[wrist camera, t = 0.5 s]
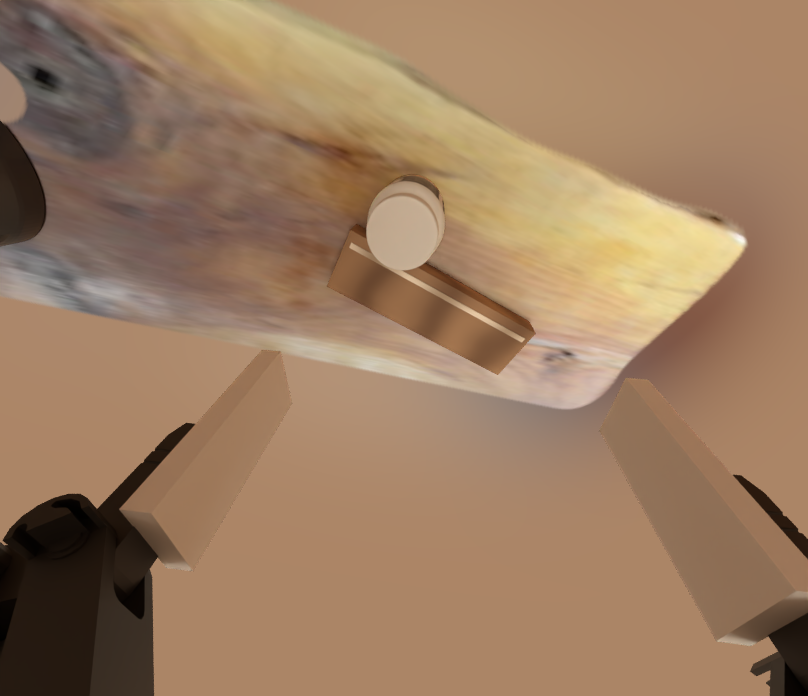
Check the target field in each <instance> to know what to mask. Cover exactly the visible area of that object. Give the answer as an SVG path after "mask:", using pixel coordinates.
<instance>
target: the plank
mask: <svg viewBox="0 0 808 696" xmlns="http://www.w3.org/2000/svg"><path fill="white" fill-rule="evenodd" d="M327 287H329V288H331V289H333V290H335V291H337V292H339V293H341V294H343V295H344V296H346V297H348V298H350V299H352V300H354V301H356V302H358V303H360V304H362V305H364V306H366V307H368V308H370V309H372V310H373V311H375V312H377V313H379V314H381V315H383V316H385V317H387V318H389V319H391V320H393V321H395V322H397V323H399V324H400V325H402V326H404V327H406V328H408V329H410V330H412V331H414V332H416V333H418V334H420V335H422V336H424V337H426V338H427V339H429V340H431V341H433V342H435V343H437V344H439V345H441V346H443V347H445V348H447V349H449V350H451V351H453V352H454V353H456V354H458V355H460V356H462V357H464V358H466V359H468V360H470V361H472V362H474V363H476V364H478V365H480V366H481V367H483V368H485V369H487V370H489V371H491V372H493V373H495V374H497V375H498V374H499V373H500V372H501V371H502V370H503V369H504V368H505V366H506V365H507V364H508V363H509V362H510V361H511V360H512V359H513V358H514V357H515V355H516V354H517V353H518V352H519V351H520V350H521V349H522V348H523V347H524V346H525V345H526V343H527V342H528V341H529V340H530V339H531V338H532V337H533V336H534V335H535V334H536V333H535V332H534V330H533V328H532V326H531V324H530V322H529V321H527V320H526V319H524V318H522V317H520V316H518V315H517V314H515V313H513V312H511V311H510V310H508V309H506V308H504V307H503V306H501V305H499V304H497V303H496V302H494V301H492V300H490V299H488V298H487V297H485V296H483V295H481V294H480V293H478V292H476V291H474V290H473V289H471V288H469V287H467V286H466V285H464V284H462V283H460V282H458V281H457V280H455V279H453V278H451V277H450V276H448V275H446V274H444V273H443V272H441V271H439V270H437V269H435V268H434V267H432V266H430V265H428V264H427V263H424V264H422V265H421V266H419V267H417V268H414V269H411V270H395V269H392V268H389V267H387V266H385V265H384V264H382V263H381V262H380V261H378V260H377V259H376V257H375V256H374V255H373V253H372V252H371V250H370V248H369V245H368V242H367V237H366V229H365V228H363V227H361V226H360V225H358V224H356V225H355V226H354V227H353V228H352V229H351V230H350V232H349V235H348V237H347V239H346V242H345V244H344V247H343V249H342V251H341V254H340V256H339V259H338V261H337V263H336V266H335V268H334V271H333V273H332V275H331V278H330V280H329V283H328V285H327Z"/></svg>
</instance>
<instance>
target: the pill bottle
mask: <svg viewBox="0 0 808 696" xmlns="http://www.w3.org/2000/svg"><path fill="white" fill-rule="evenodd" d="M444 231H445V213H444V203H443V199H442V196H441V194H440V192H439V190H438V189H437V187H436V186H435V185H434V184H433V183H432V182H431V181H430V180H428V179H427V178H425V177H423V176H419V175H405V176H402V177H399V178H397V179H396V180H394V181H393V182H392V183H390V184H389V185H388V186H386V187H385V188H384V189H383V190H381V191H380V192H379V193H378V194H377V196H376V197H375V198H374V200H373V202H372V204H371V206H370V209H369V212H368V218H367V227H366V237H367V242H368V245H369V248H370V250H371V252H372V253H373V255H374V256H375V257H376V259H377V260H378V261H380V262H381V263H382V264H384V265H385V266H387V267H389V268H392V269H395V270H411V269H414V268H417V267H419V266H421V265H422V264H424V263H425V262H426V261H427V260H428V259H429V258H430V257H431V255H432V254H433V253H434V252H435V250H436V249H437V248H438V246H439V244H440V242H441V240H442V238H443V235H444Z"/></svg>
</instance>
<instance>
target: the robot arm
mask: <svg viewBox="0 0 808 696" xmlns="http://www.w3.org/2000/svg"><path fill="white" fill-rule="evenodd" d="M44 212H45V208H44V199H43V194H42V190H41V187H40V184H39V181H38V179H37V176H36V174H35V172H34V170H33V168H32V166H31V164H30V162H29V160H28V158H27V157H26V155H25V153H24V152H23V150H22V149H21V147H20V145H19V144H18V143H17V141H16V140H15V138H14V137H13V136H12V134H11V133H10V132H9V131H8V129H7V128H6V127H5V126H4V124H3V123H2V122H1V121H0V246H5V245H9V244H14V243H18V242H23V241H26V240H29V239H31V238H32V237H34V236H35V235H36V234H37V233H38V232H39V230H40V228H41V226H42V224H43V220H44ZM291 404H292V400H291V396H290V391H289V387H288V383H287V378H286V374H285V369H284V365H283V360H282V356H281V351H269V350H262V351H261V352H260V353H259V354H258V355H257V356H256V357H255V359H254V360H253V361H252V362H251V363H250V364H249V365H248V366H247V367H246V368H245V370H244V371H243V372H242V373H241V374H240V375H239V376H238V377H237V378H236V380H235V381H234V382H233V383H232V384H231V385H230V386H229V387H228V389H227V390H226V391H225V392H224V393H223V394H222V395H221V397H219V399H218V400H217V401H216V402H215V403H214V404H213V405H212V406H211V408H210V409H209V410H208V411H207V412H206V413H205V414H204V415H203V416H202V418H201V419H200V420H199V421H198V422H197V423H196V424H192V423H185V424H184V425H182V426H181V427H179V428H178V429H176V430H175V431H173V432H172V433H170V434H169V435H168V436H167V437H166V438H165V439H164V440H163V441H162V442H161V443H160V444H159V445H158V446H157V447H156V448H155V451H152V452H151V453H150V454H149V456H148V457H147V458H146V459H145V460H144V463H141V464H140V465H139V466H138V467H137V468H136V469H135V470H134V471H133V472H132V473H131V474H130V475H129V476H128V477H127V479H125V480H124V482H123V483H122V484H121V485H120V486H119V487H118V488H117V489H116V490H115V491H114V492H113V493H112V494H111V495H110V496H109V497H108V498H107V499H106V500H105V501H104V502H103V503H102V504H101V506H100V507H99V508H98V509H96V507H95V506H94V505H93V504H92V503H91V502H90V501H89V499H88V498H86V497H85V496H83V495H81V494H66V495H63V496H59V497H55V498H53V499H51V500H48V501H46V502H44V503H42V504H40V505H38V506H36V507H35V508H34V509H32V510H31V511H29V512H28V513H26V514H25V515H23V516H22V517H21V518H20V519H19V520H18V521H17V522H16V523H15V524H14V525H13V526H12V527H11V528H10V529H9V531H8V532H7V534H6V536H5V537H4V539H3V541H4V542H5V543H6V544H8V545H3V544H2V543H0V696H154V674H153V673H154V667H153V609H152V608H153V604H152V603H153V601H152V575H151V572H150V568H151V566H152V565H153V563H154V562H155V560H156V559H157V557H158V558H159V559H160V561H161V562H162V563H163V564H164V566H165V567H166V568H172V569H180V570H187V571H194V569H195V567H196V565H197V564H198V562H199V560H200V559H201V557H202V555H203V554H204V552H205V550H206V549H207V547H208V545H209V543H210V542H211V540H212V538H213V537H214V535H215V533H216V532H217V530H218V528H219V527H220V525H221V523H222V521H223V520H224V518H225V516H226V515H227V513H228V511H229V510H230V508H231V506H232V504H233V502H234V501H235V499H236V497H237V496H238V494H239V493H240V491H241V489H242V488H243V486H244V484H245V482H246V481H247V479H248V477H249V476H250V474H251V472H252V471H253V469H254V467H255V465H256V464H257V462H258V460H259V459H260V457H261V455H262V454H263V452H264V450H265V448H266V447H267V445H268V443H269V442H270V440H271V438H272V437H273V435H274V433H275V431H276V430H277V428H278V427H279V425H280V423H281V421H282V420H283V418H284V416H285V415H286V413H287V411H288V410H289V408H290V406H291ZM600 433H601V435H602V437H603V438H604V440H605V442H606V444H607V446H608V447H609V449H610V451H611V453H612V454H613V456H614V458H615V460H616V462H617V464H618V465H619V467H620V469H621V471H622V473H623V474H624V476H625V478H626V480H627V482H628V483H629V485H630V487H631V489H632V490H633V492H634V494H635V496H636V498H637V500H638V501H639V503H640V505H641V506H642V509H643V510H644V512H645V514H646V516H647V517H648V519H649V521H650V523H651V525H652V526H653V528H654V530H655V532H656V534H657V535H658V537H659V539H660V541H661V542H662V544H663V546H664V548H665V550H666V551H667V553H668V555H669V557H670V559H671V560H672V562H673V564H674V566H675V568H676V570H677V571H678V573H679V575H680V577H681V579H682V580H683V582H684V584H685V586H686V587H687V589H688V591H689V593H690V595H691V596H692V598H693V600H694V602H695V604H696V606H697V607H698V609H699V611H700V613H701V615H702V616H703V618H704V620H705V622H706V623H707V625H708V627H709V629H710V631H711V633H712V634H713V636H714V638H715V640H716V641H719V642H726V643H734V644H741V645H749V646H752V645H754V644H755V643H757V642H759V641H761V640H763V639H764V638H766V637H768V636H769V638H770V639H771V641H772V642H773V644H774V645H775V647H776V648H777V650H778V652H776V653H774V654H772V655H770V656H768V657H767V658H765V659H763V660H761V661H759V662H757V663H755V664H753V666H752V668H751V671H750V672H752V673H753V674H754V675H756V676H758V675H760V674H762V673H765V672H767V671H769V670H771V675H770V680H769V681H768V682H766V684H768V685H769V686H770V696H808V539H807V538H806V537H805V536H804V535H803V534H802V533H799V532H798V528H797V527H796V526H795V525H794V524H793V523H792V522H791V521H790V520H789V519H788V518H787V517H786V516H783V514H782V511H781V510H780V509H779V508H778V507H777V506H776V505H775V504H774V503H773V502H772V501H771V499H770V498H769V497H767V495H766V494H765V493H764V492H763V491H761V490H760V489H758V488H757V487H756V486H754V485H753V484H752V483H750V482H749V481H747V480H746V479H745V478H744V477H742V476H740V475H732V474H731V473H730V472H729V471H728V469H727V468H726V467H725V466H724V465H723V464H722V462H721V461H720V460H719V459H718V458H717V457H716V456H715V455H714V453H713V452H712V451H711V450H710V449H709V448H708V447H707V446H706V444H705V443H704V442H703V441H702V440H701V439H700V438H699V437H698V436H697V434H695V432H694V431H693V430H692V429H691V428H690V427H689V425H688V424H687V423H686V422H685V421H684V420H683V419H682V418H681V416H680V415H679V414H678V413H677V412H676V411H675V410H674V409H673V407H672V406H671V405H670V404H669V403H668V402H667V401H666V400H665V398H664V397H663V396H662V395H661V394H660V393H659V392H658V391H657V389H655V387H654V386H653V385H652V384H651V383H650V382H649V381H648V380H646V379H634V378H626V379H625V380H624V382H623V385H622V386H621V389H620V391H619V392H618V395H617V396H616V398H615V401H614V403H613V405H612V406H611V409H610V410H609V413H608V414H607V416H606V419H605V420H604V422H603V425H602V426H601V428H600Z"/></svg>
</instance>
